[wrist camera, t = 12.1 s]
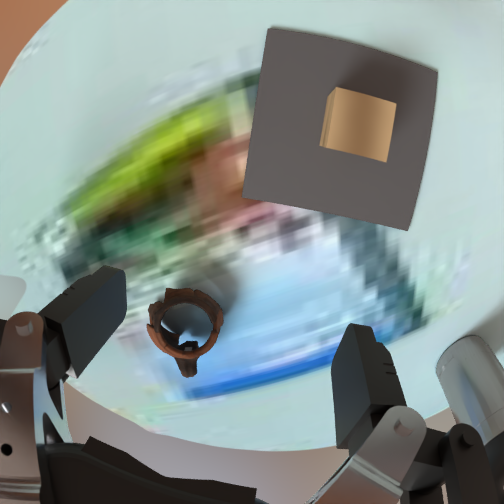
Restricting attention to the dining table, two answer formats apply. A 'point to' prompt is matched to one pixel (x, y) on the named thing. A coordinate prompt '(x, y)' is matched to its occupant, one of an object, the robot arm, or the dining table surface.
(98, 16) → the dining table surface
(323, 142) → the oak block
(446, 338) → the dining table surface
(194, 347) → the brown hollow rounded piece
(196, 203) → the dining table surface
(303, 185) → the charcoal mat
